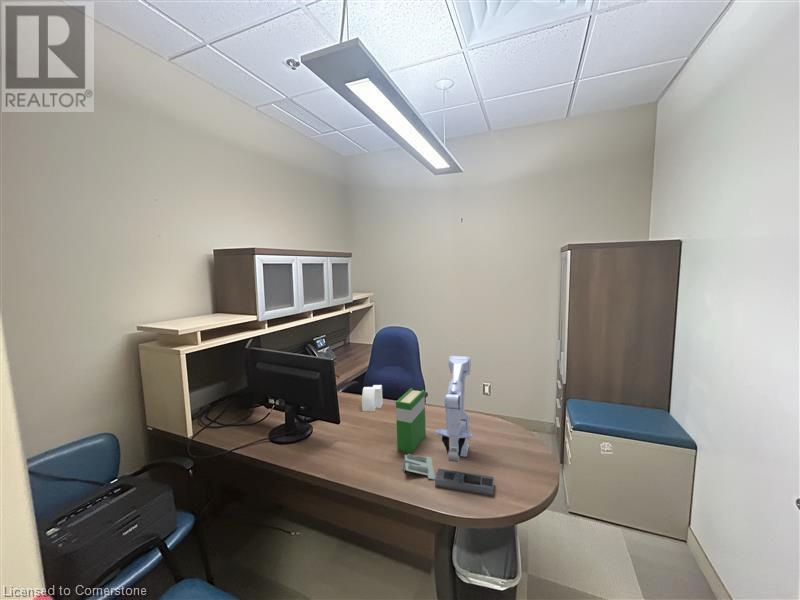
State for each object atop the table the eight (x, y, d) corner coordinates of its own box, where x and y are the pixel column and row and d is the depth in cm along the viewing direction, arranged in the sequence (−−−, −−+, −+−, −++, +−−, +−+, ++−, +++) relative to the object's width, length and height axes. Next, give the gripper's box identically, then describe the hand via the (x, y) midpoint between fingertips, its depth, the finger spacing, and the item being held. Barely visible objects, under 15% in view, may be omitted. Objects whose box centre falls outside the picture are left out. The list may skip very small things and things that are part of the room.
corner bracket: (382, 403, 208) (381, 385, 207) (379, 411, 197) (379, 392, 196) (366, 403, 209) (365, 384, 208) (362, 411, 198) (361, 392, 197)
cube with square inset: (449, 455, 140) (449, 446, 139) (459, 456, 138) (459, 447, 138) (448, 460, 136) (448, 451, 135) (458, 462, 135) (458, 452, 134)
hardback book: (412, 432, 171) (411, 388, 169) (425, 435, 168) (424, 390, 165) (397, 450, 156) (395, 401, 153) (412, 453, 152) (410, 404, 150)
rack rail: (438, 475, 136) (438, 468, 136) (493, 484, 130) (493, 476, 130) (435, 486, 130) (435, 479, 129) (493, 496, 123) (493, 488, 123)
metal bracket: (405, 468, 133) (403, 447, 148) (401, 481, 133) (400, 459, 148) (439, 476, 134) (434, 454, 148) (435, 489, 134) (431, 466, 149)
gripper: (434, 425, 134) (434, 456, 135) (470, 429, 129) (470, 461, 131) (437, 417, 140) (438, 447, 142) (472, 420, 136) (472, 451, 138)
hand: (454, 453), depth 137 cm, fingers closed on cube with square inset, 4 cm apart
